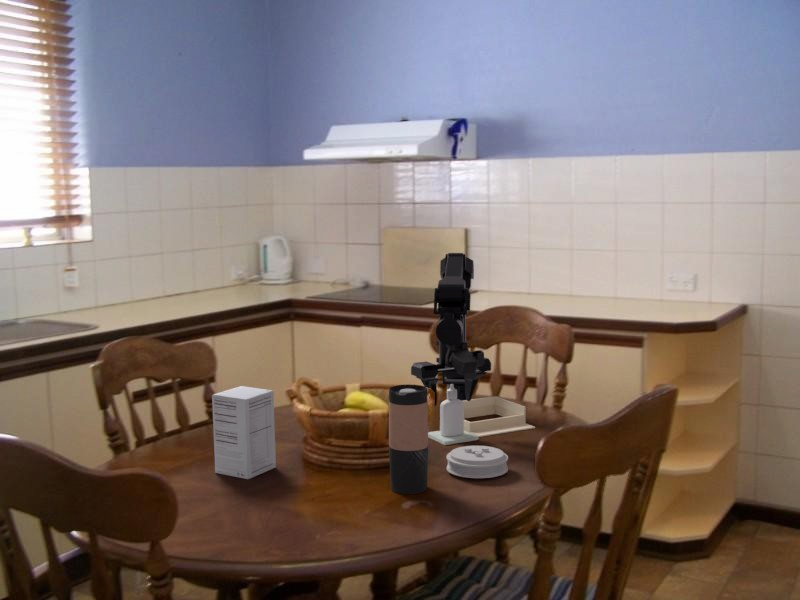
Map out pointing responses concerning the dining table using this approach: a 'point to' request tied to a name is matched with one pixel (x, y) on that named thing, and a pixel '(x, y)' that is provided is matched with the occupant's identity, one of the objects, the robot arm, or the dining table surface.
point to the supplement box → (244, 431)
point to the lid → (477, 462)
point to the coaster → (452, 437)
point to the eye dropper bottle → (451, 414)
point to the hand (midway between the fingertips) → (451, 403)
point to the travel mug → (408, 438)
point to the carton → (508, 422)
